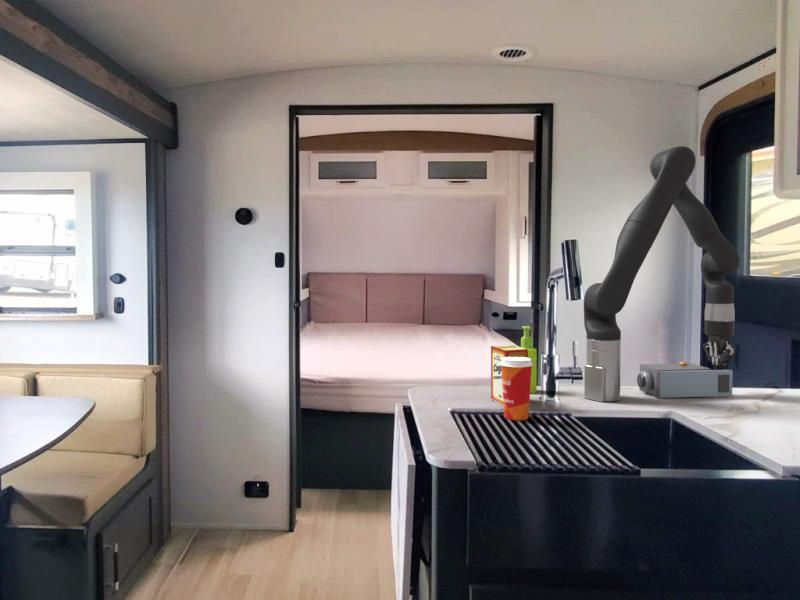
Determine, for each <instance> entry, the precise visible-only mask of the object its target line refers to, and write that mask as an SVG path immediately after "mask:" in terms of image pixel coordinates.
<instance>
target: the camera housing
mask: <svg viewBox="0 0 800 600" xmlns="http://www.w3.org/2000/svg"><path fill="white" fill-rule="evenodd" d="M695 370H712V369H711V368H710V367H706V366H702V365H699V364H695V363H691V362H686V361H679V362H678V363H677V362H676V363H673V362H672V363H648V364H647V363H644V364H643V363H642V364H639V372H638V374H637V377H636V383H637V386H638V388H639V391H640V392H642V393H645V394H647V393H648V395H650V396H652V397H655V371H695ZM662 398H664V399H665V398H666V399H667V398H668V397H661V398H660V399H662Z"/></svg>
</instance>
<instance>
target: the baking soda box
mask: <svg viewBox="0 0 800 600" xmlns="http://www.w3.org/2000/svg"><path fill="white" fill-rule="evenodd" d="M504 357H526V358H528V349H525V348H521V346H518V345H515V344H506V345H505V344H503V345H491V346H490V399H491V398H492V399H494V400H496V401H498V402H500V403H501V404H503V389H502V372H501V365H500V363H501V359H502V358H504Z"/></svg>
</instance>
